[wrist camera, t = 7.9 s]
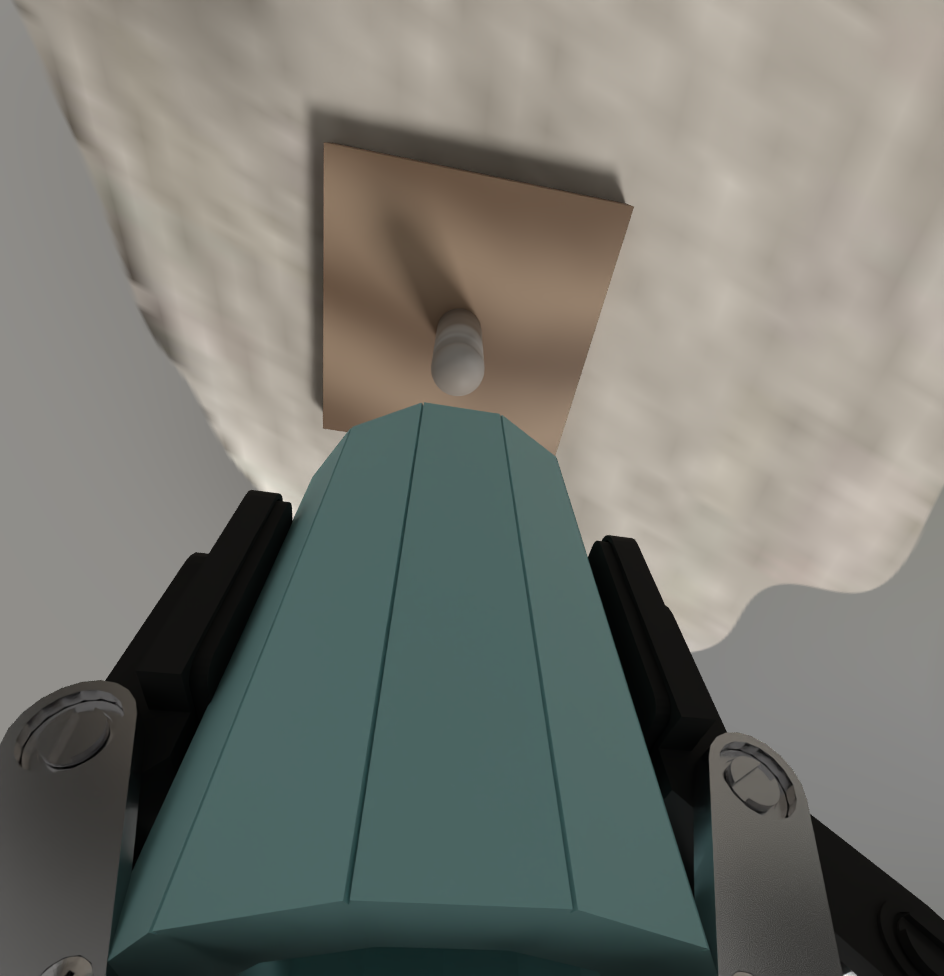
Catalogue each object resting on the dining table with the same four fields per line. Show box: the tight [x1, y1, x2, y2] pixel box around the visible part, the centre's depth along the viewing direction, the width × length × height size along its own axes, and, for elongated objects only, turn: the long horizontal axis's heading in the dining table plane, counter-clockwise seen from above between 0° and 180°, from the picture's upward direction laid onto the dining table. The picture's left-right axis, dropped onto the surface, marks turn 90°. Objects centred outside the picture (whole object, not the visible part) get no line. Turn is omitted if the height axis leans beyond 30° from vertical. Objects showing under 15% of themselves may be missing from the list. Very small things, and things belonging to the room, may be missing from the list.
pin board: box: [323, 142, 634, 456], centre depth 20 cm, size 12×12×7 cm
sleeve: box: [107, 402, 718, 976], centre depth 8 cm, size 6×6×8 cm
